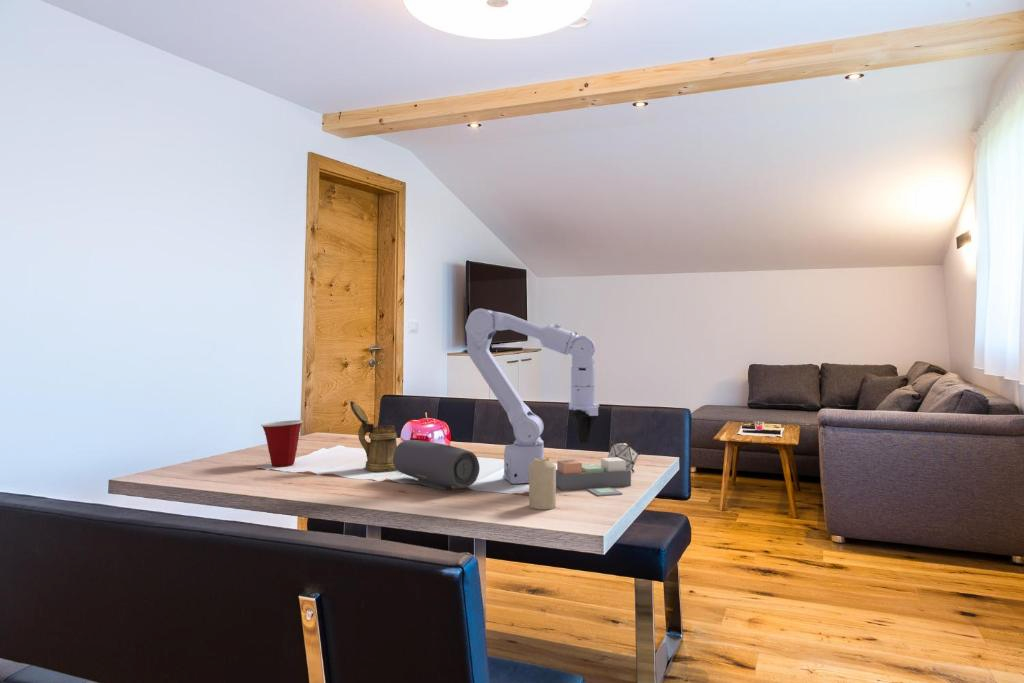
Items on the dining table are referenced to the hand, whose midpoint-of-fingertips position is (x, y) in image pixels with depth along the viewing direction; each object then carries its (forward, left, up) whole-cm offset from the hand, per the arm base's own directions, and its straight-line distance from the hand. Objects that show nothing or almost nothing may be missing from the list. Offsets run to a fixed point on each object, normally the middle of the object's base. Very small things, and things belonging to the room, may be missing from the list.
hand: (582, 442), depth 162 cm
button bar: (+1, -4, -10) cm, 10 cm away
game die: (+14, +8, -10) cm, 19 cm away
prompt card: (+1, -11, -10) cm, 15 cm away
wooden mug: (-47, +31, -10) cm, 57 cm away
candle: (-17, -19, -10) cm, 28 cm away
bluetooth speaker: (-35, +7, -10) cm, 37 cm away
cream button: (+6, -4, -7) cm, 10 cm away
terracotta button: (-5, -4, -7) cm, 9 cm away
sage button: (+1, -4, -8) cm, 9 cm away
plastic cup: (-71, +43, -10) cm, 83 cm away
